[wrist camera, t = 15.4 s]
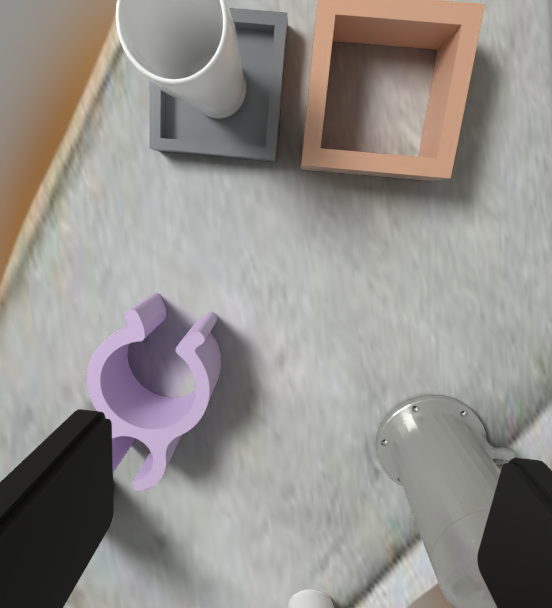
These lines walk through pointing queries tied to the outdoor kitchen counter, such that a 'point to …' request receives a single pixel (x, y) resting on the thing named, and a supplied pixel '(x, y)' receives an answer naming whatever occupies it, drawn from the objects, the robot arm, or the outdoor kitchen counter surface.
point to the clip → (141, 402)
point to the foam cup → (310, 600)
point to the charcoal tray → (253, 112)
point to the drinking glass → (186, 51)
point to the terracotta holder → (403, 33)
